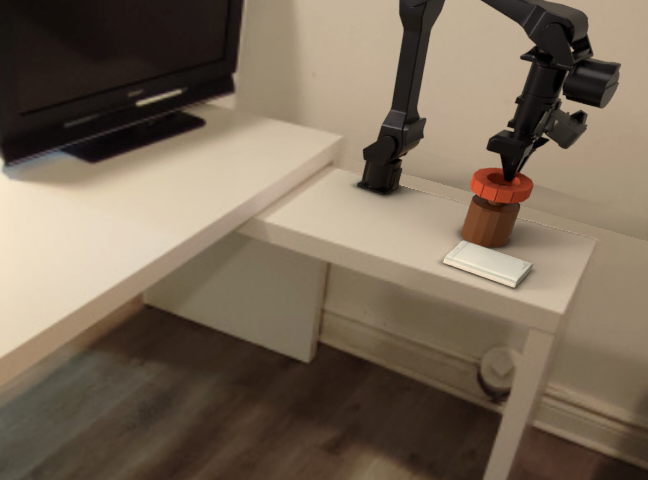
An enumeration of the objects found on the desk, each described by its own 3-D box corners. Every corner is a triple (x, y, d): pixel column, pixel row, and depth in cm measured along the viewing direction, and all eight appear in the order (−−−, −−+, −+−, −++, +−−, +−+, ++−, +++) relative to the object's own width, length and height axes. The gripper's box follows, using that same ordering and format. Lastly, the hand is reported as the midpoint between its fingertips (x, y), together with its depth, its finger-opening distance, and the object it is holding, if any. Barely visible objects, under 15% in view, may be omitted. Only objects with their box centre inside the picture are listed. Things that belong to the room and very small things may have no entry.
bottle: (453, 236, 147) (469, 186, 141) (472, 222, 152) (488, 173, 145) (496, 252, 143) (515, 201, 136) (514, 236, 147) (533, 186, 141)
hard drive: (534, 262, 137) (463, 238, 143) (517, 281, 132) (445, 255, 138) (530, 270, 138) (461, 246, 144) (513, 289, 133) (442, 263, 139)
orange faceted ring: (460, 190, 141) (464, 179, 140) (485, 174, 147) (488, 162, 145) (514, 208, 136) (518, 196, 135) (538, 190, 141) (542, 179, 140)
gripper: (570, 119, 123) (535, 210, 133) (610, 90, 134) (575, 177, 144) (500, 101, 129) (471, 189, 139) (543, 75, 140) (514, 159, 150)
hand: (510, 179), depth 143 cm, fingers closed on orange faceted ring, 2 cm apart
